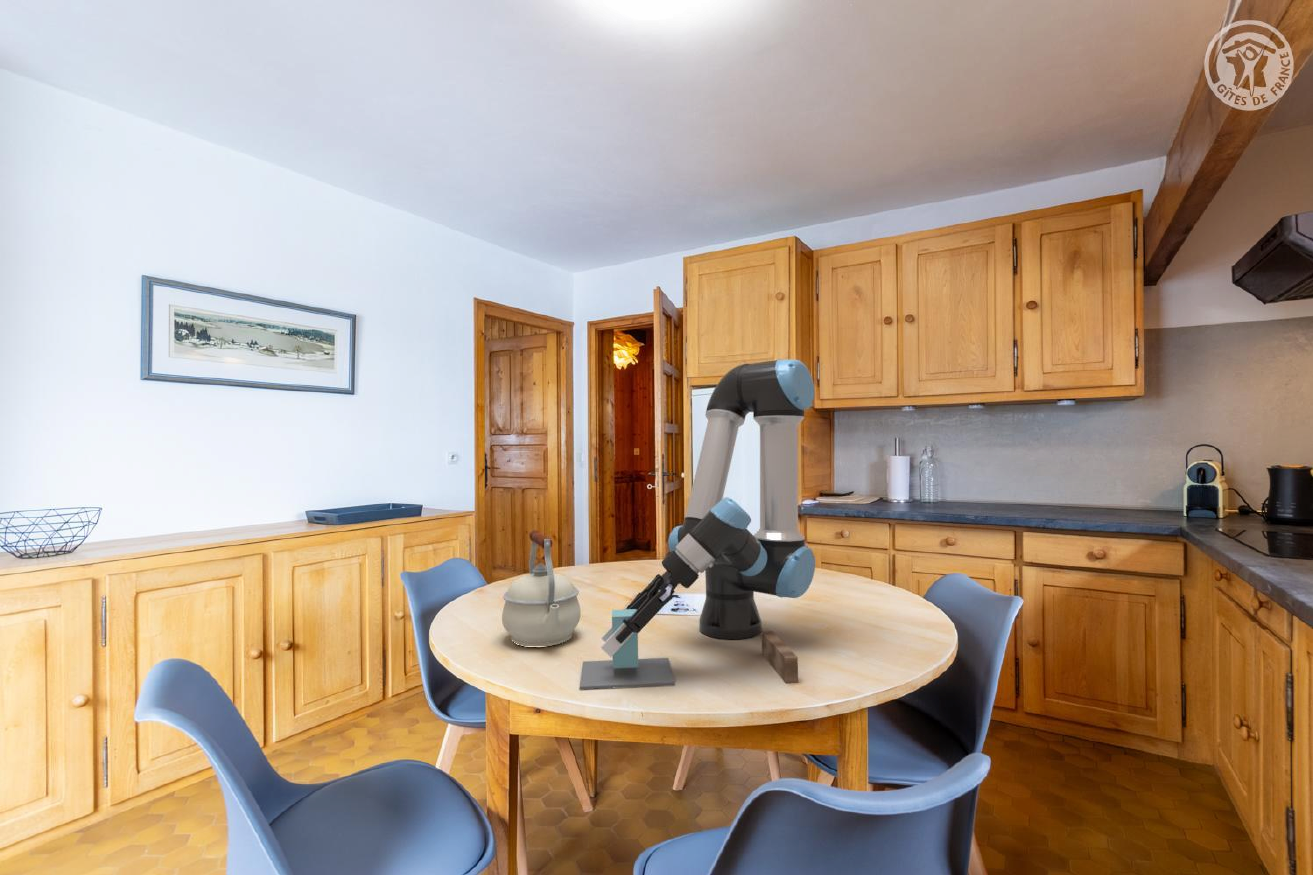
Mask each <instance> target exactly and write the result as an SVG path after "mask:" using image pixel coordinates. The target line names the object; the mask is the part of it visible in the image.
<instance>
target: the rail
mask: <svg viewBox="0 0 1313 875" xmlns="http://www.w3.org/2000/svg"><path fill="white" fill-rule="evenodd" d="M761 654H762V656H763V658H765V660H766V661H767V662H768V664H770V665H771V667H772V668H773V670H775V672H776V673H777V674H778V675H779V677H780V678H781V679H782V680H783V682H784V683H785V684H798V683H799V670H798V669H799V668H798V667H799V663H798V662H799V661H798V660H799V659H798V656H797V655H796V654H795V653H794V651H792V650H791V649H790V648H789V646H787V645H786V644H785V643H784V642H783V641H782V640H781V638H780V637H778V636H777V634H776V633H775V632H774V631H773V630H770V631H767V630H766V631H761Z"/></svg>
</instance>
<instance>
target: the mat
mask: <svg viewBox="0 0 1313 875" xmlns="http://www.w3.org/2000/svg"><path fill="white" fill-rule="evenodd" d="M670 662H671V661H670V660H669V657H651V658H650V657H649V658H638V667H634V668H613V659H607V660H588V661H586V660H585V661H584V660H583V661H582V667H581V673H580V682H579V690H580V689H590V690H592V689H591V688H611V689H614V688H613V687H631V688H646V687H645V686H651V687H664V686H663V685H672V686H676V681H675V679H674V678H675V677H674V674H673V669H672V666H671V663H670Z"/></svg>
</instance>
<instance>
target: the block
mask: <svg viewBox="0 0 1313 875" xmlns="http://www.w3.org/2000/svg"><path fill="white" fill-rule="evenodd" d="M636 610H637V609H611V627H612V634H613V633H614V632H615V631H616V630H617V629H618V628H619V627H620V626H621V625H622V624H623V620H624V619H625V620H626V621H628V620H629V619H630V617H631V616H632V615H633V614H634V613H635V612H636ZM638 659H639V633H636V632H635V633H634V634H633V635H632V636H631V637H630V638H629V639H628V640H627V641H626V642H625V643H624V644H623V645H622V646H621V647H620V648H619V649H618V650H617V651H616V652H615V654H614V655H613V656H612V660H613V668H634V667H638Z"/></svg>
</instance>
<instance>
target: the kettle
mask: <svg viewBox="0 0 1313 875" xmlns="http://www.w3.org/2000/svg"><path fill="white" fill-rule="evenodd" d="M529 539H530V541H531V549H530V555H529V562H528V563H529V564H528V570H529V571H528V572H529V574H526V575H523V576H521V577H519V578H517V579H515V580H513V582H512V583H511V584H510V585H509V587H508V589H507V591H506V592H505V593H504V594H503V596H502V597H503V600H504V601H505V602H504V605H503V609H502V614H501V615H502V616H501V621H502V626H503V628H504V629H505V631H506V633H508V634H509V635H510V636H511V641H512V640H513V641H514V642H515V643H517V644H519V645H523V646H552V645H556V644H560V643H562V644H564V643H563V642H565V641H566V642H568V641H569V640H571V638H573V637H572V636H573V631H574V630H575V629H576V627H577V626H578V624H579V622H580V619H581V607H580V603H579V600H578V595H579V594H580V593H579V592H580V591H579V589H578V588H577V587H575V585H574V583H573V581H572V580H571V579H570V578H568V577H567V576H565V575H562V574H559V573H555V572H554V568H553V562H552V553H551V548H552V546H553V540H552V539H551V538H550V537H547V536H546V535H544V534H543V533H541V532H539V530H532V531H531V532H530V533H529ZM538 546H539V547H541V548H542V549H543V550H544V561H545V562H544V563H545V564H544V563H541V562H540V563H538V564H537V565H535V564H536V563H535V562H536V555H537V550H538V549H537V548H538ZM567 640H568V641H567ZM566 642H565V643H566ZM560 645H561V644H560ZM556 646H557V645H556ZM552 647H553V646H552Z"/></svg>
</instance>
